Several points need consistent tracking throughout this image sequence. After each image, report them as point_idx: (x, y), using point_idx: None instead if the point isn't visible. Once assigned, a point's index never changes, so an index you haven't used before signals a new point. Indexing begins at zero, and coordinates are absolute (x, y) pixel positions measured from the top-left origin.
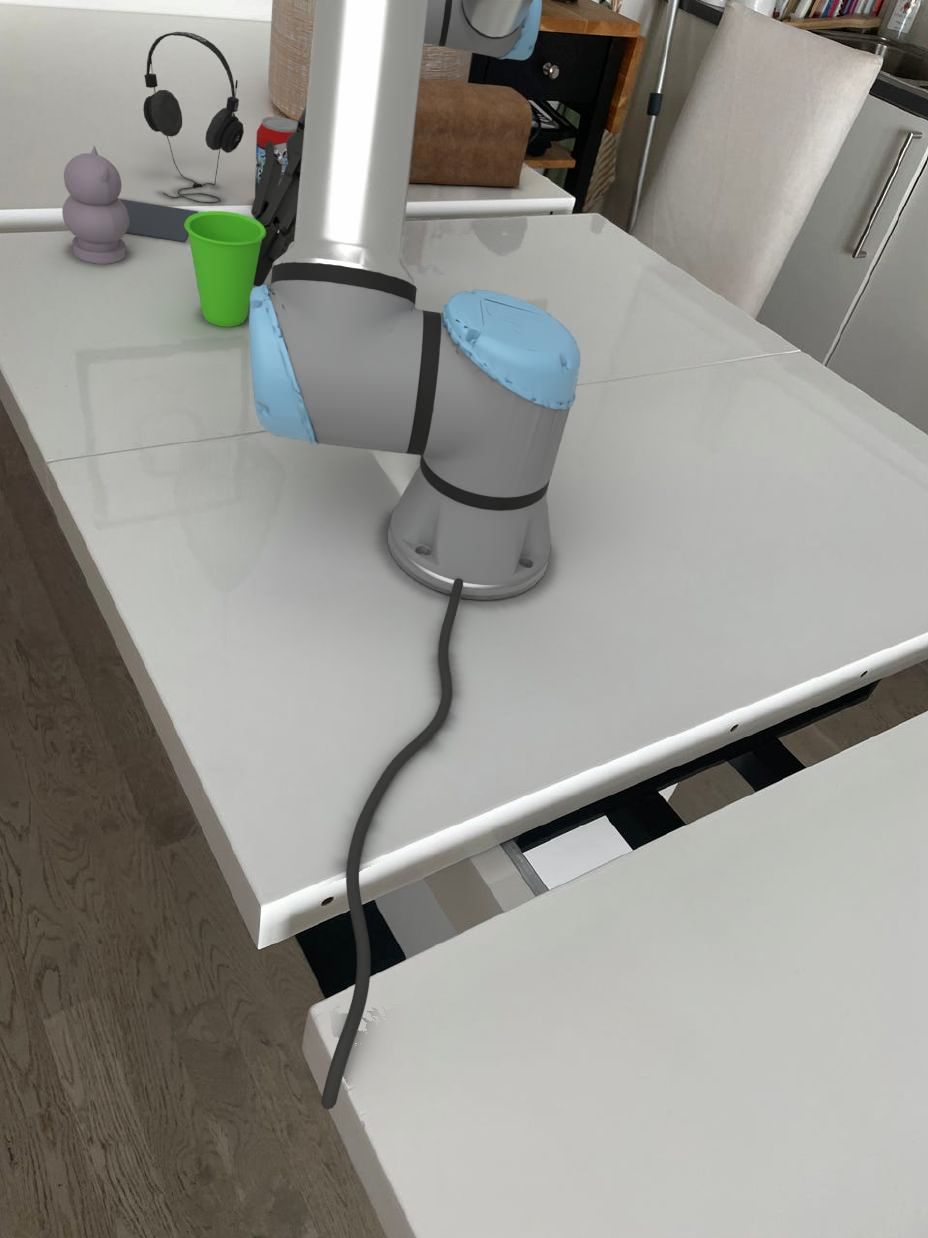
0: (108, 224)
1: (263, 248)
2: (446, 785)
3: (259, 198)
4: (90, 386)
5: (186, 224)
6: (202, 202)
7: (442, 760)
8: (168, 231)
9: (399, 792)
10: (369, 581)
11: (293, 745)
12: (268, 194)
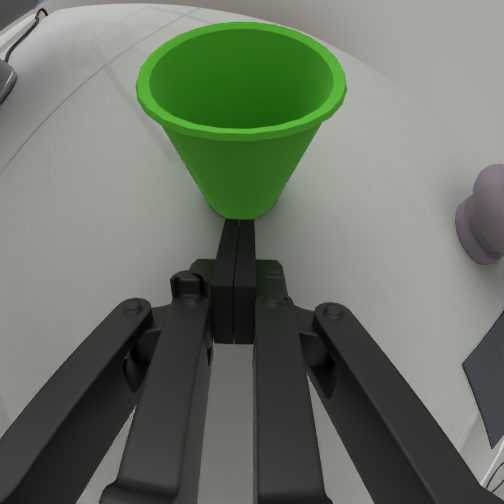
0: (483, 180)
1: (228, 251)
2: None
3: (358, 348)
4: None
5: (304, 37)
6: (497, 469)
7: None
8: (488, 363)
9: None
10: (26, 60)
11: (52, 21)
12: (351, 402)
